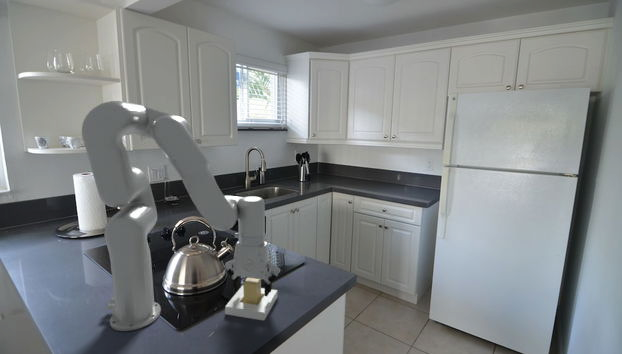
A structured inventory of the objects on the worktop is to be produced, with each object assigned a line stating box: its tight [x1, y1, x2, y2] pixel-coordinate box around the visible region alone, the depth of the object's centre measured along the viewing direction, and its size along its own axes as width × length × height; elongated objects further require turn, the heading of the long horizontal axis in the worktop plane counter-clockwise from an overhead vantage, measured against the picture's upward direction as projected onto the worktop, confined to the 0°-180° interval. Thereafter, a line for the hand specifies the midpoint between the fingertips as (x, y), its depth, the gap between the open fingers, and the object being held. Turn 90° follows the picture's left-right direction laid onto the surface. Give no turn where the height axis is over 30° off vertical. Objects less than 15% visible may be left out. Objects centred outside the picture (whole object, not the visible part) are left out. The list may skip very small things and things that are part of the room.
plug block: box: [242, 277, 262, 305], centre depth 93 cm, size 4×4×8 cm
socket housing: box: [224, 284, 278, 321], centre depth 94 cm, size 12×12×2 cm
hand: (252, 291), depth 93 cm, fingers open, 9 cm apart
